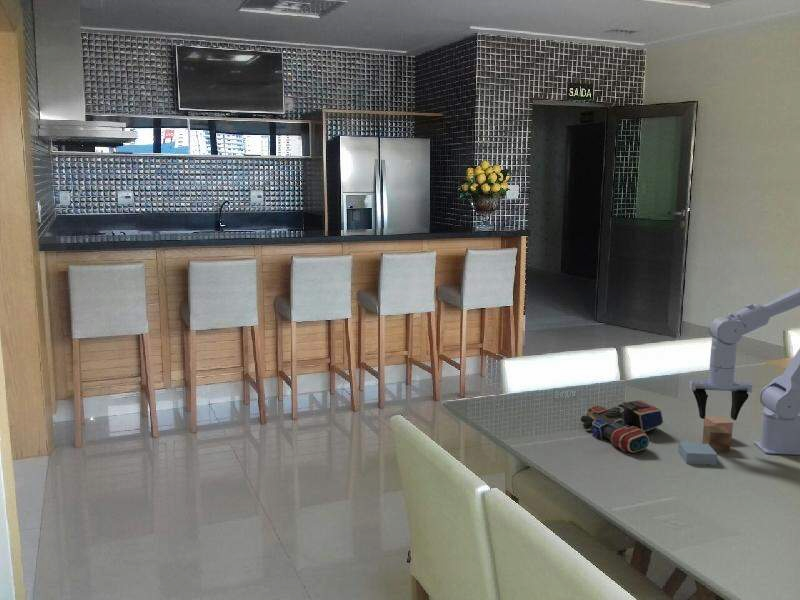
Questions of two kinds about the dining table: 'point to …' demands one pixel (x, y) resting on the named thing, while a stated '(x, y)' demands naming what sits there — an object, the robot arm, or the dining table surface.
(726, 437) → the walnut block
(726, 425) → the terracotta block
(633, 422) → the red blue plastic piece
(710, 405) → the dining table surface
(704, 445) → the blue slab
